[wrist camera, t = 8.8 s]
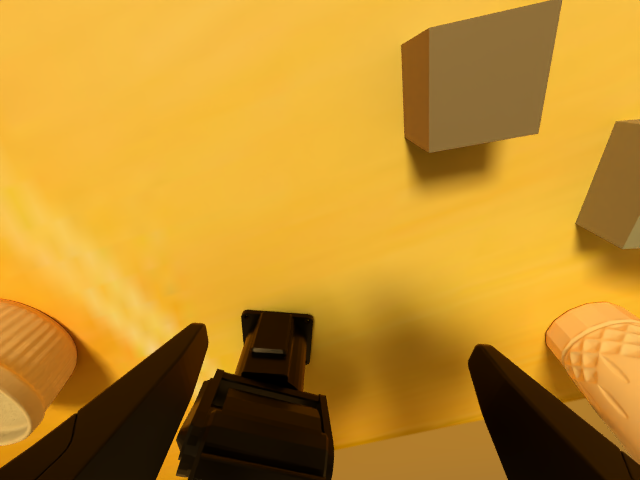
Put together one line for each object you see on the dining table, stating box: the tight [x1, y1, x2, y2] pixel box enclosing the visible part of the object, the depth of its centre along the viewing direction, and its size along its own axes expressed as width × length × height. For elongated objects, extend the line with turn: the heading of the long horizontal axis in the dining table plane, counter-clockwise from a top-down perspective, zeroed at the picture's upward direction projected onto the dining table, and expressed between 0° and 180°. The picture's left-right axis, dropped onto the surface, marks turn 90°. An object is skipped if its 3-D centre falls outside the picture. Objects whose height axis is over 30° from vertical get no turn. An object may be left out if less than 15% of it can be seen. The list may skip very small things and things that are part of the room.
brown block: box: [401, 0, 562, 153], centre depth 14 cm, size 5×5×5 cm
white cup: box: [546, 302, 640, 465], centre depth 21 cm, size 8×8×10 cm
